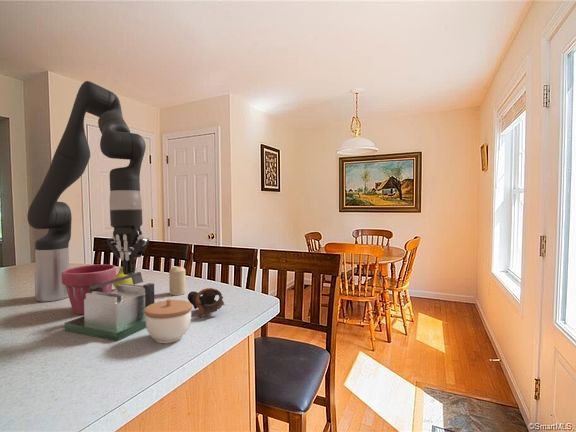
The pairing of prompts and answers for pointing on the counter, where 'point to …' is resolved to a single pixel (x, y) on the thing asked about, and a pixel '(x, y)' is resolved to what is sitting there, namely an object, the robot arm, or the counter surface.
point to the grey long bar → (135, 278)
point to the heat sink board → (114, 312)
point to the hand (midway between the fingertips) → (129, 274)
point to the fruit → (121, 274)
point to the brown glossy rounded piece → (206, 301)
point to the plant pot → (86, 282)
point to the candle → (177, 280)
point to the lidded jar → (168, 320)
